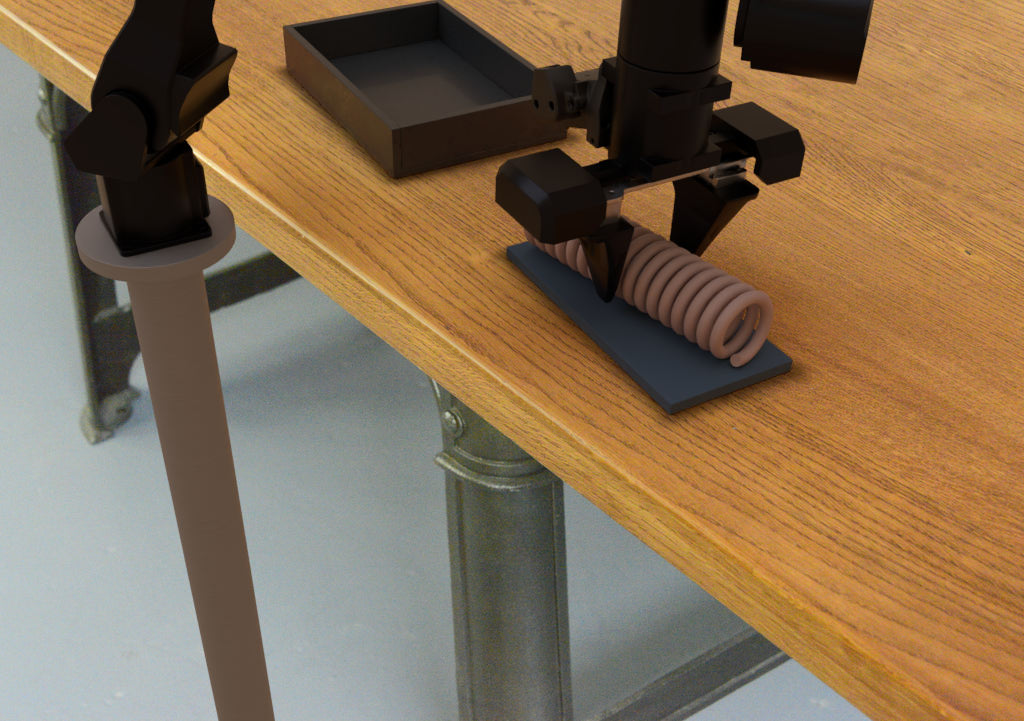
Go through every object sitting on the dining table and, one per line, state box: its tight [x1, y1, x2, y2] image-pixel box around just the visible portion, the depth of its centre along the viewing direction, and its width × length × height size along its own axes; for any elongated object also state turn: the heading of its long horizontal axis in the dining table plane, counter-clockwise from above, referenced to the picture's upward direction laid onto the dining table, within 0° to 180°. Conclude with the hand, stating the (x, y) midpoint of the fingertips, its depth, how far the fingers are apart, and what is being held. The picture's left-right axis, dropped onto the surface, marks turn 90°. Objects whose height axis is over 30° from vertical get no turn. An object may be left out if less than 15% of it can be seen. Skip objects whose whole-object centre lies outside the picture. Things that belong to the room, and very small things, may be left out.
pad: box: [505, 240, 794, 416], centre depth 74 cm, size 9×19×1 cm, turn 30°
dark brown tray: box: [282, 0, 568, 180], centre depth 96 cm, size 15×22×4 cm
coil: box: [523, 213, 774, 367], centre depth 72 cm, size 5×5×18 cm
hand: (640, 288), depth 73 cm, fingers closed on coil, 5 cm apart
